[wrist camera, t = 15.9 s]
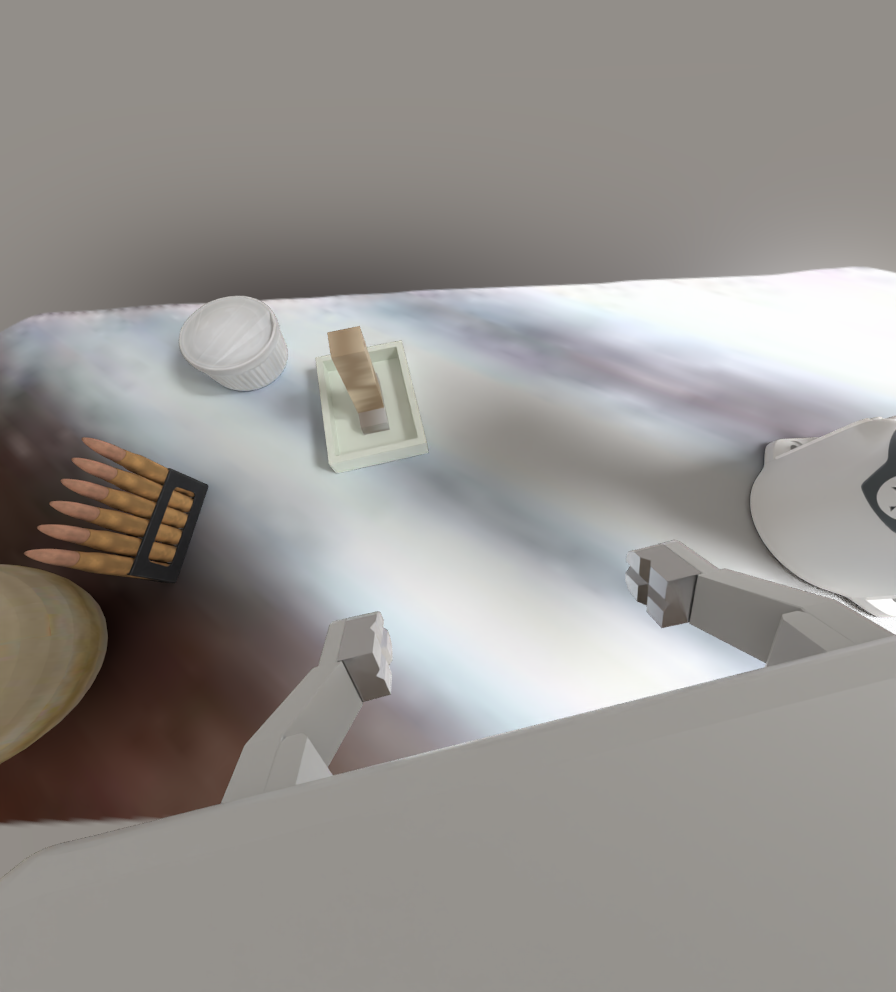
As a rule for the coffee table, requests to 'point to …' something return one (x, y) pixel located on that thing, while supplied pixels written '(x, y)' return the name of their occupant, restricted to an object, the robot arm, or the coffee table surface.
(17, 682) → the decorative ball
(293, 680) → the coffee table surface
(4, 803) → the coffee table surface
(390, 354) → the tray
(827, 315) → the coffee table surface
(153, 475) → the ammunition clip
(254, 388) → the ramekin
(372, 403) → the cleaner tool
